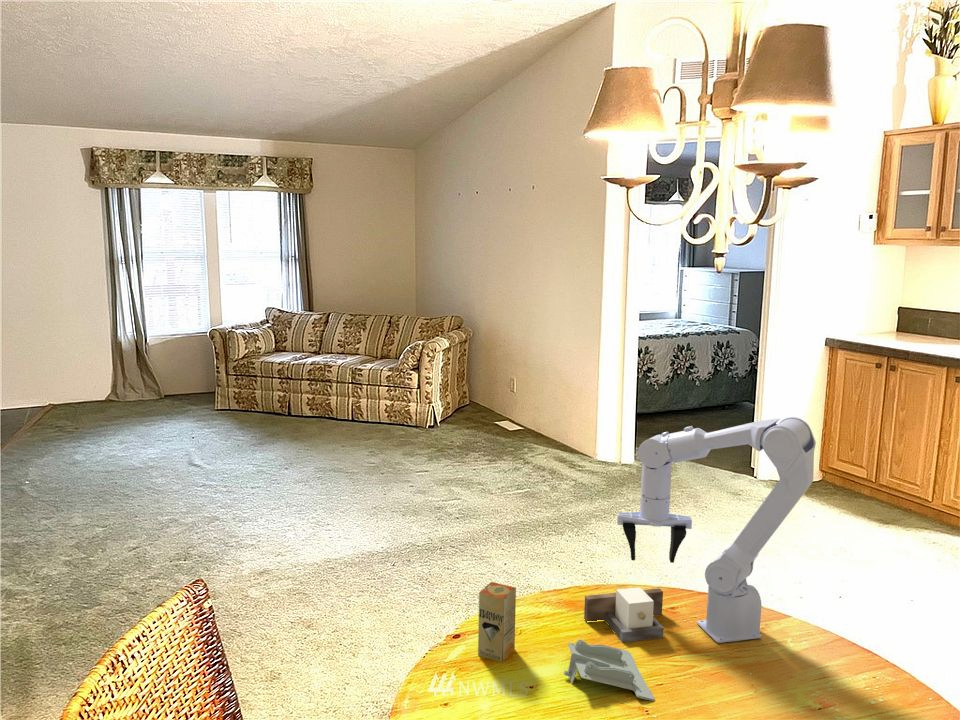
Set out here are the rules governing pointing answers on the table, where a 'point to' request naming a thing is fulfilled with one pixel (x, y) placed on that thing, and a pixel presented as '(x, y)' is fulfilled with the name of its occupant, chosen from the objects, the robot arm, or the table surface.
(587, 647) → the metal bracket
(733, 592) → the robot arm
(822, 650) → the table surface
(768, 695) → the table surface
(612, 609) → the board
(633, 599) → the cabinet block
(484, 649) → the shoe polish box
